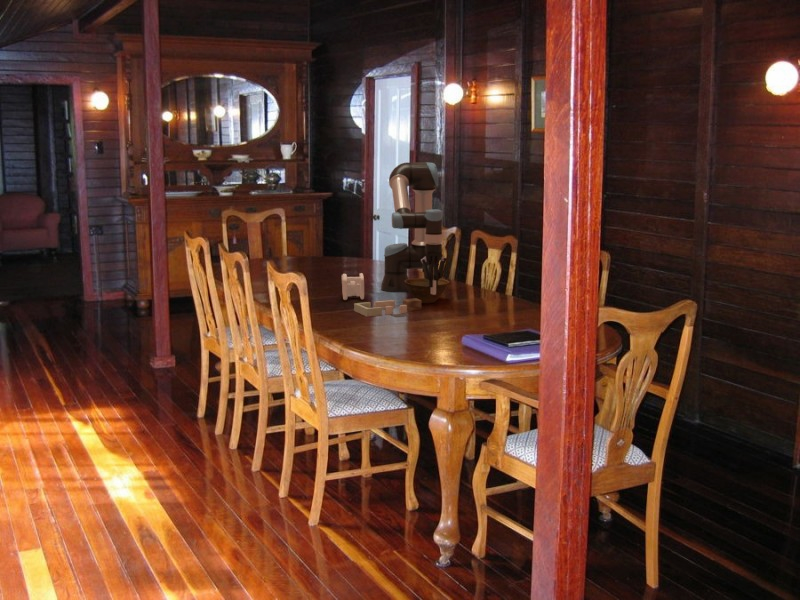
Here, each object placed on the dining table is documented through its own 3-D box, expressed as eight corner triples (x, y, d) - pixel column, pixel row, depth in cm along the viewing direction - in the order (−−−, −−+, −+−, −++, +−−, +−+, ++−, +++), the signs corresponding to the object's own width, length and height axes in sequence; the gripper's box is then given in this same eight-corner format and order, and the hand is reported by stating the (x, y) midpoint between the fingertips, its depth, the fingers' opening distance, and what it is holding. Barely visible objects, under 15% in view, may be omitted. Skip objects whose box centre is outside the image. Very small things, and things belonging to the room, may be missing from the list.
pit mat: (404, 314, 414) (404, 313, 414) (409, 316, 409) (409, 315, 409) (390, 316, 411) (390, 314, 411) (395, 318, 406) (395, 317, 406)
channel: (393, 307, 427) (393, 300, 427) (406, 312, 415) (406, 305, 414) (373, 309, 423) (373, 301, 422) (386, 314, 411) (386, 307, 410)
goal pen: (369, 309, 422) (369, 302, 421) (382, 315, 410) (382, 307, 409) (354, 311, 419) (354, 303, 418) (366, 316, 407) (366, 309, 406)
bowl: (456, 299, 447) (457, 279, 446) (438, 307, 427) (438, 286, 425) (415, 295, 456) (415, 275, 455) (395, 303, 436) (396, 282, 434)
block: (416, 307, 428) (416, 298, 427) (421, 310, 422) (421, 300, 421) (402, 308, 425) (402, 299, 424) (407, 311, 420) (407, 301, 419)
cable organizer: (364, 301, 442) (364, 277, 440) (342, 301, 441) (342, 277, 439) (363, 295, 457) (363, 272, 455) (341, 295, 456) (341, 272, 454)
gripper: (442, 241, 429) (441, 291, 433) (417, 243, 423) (417, 293, 427) (450, 243, 422) (449, 294, 426) (424, 244, 417) (424, 296, 421)
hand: (433, 294), depth 427 cm, fingers closed
